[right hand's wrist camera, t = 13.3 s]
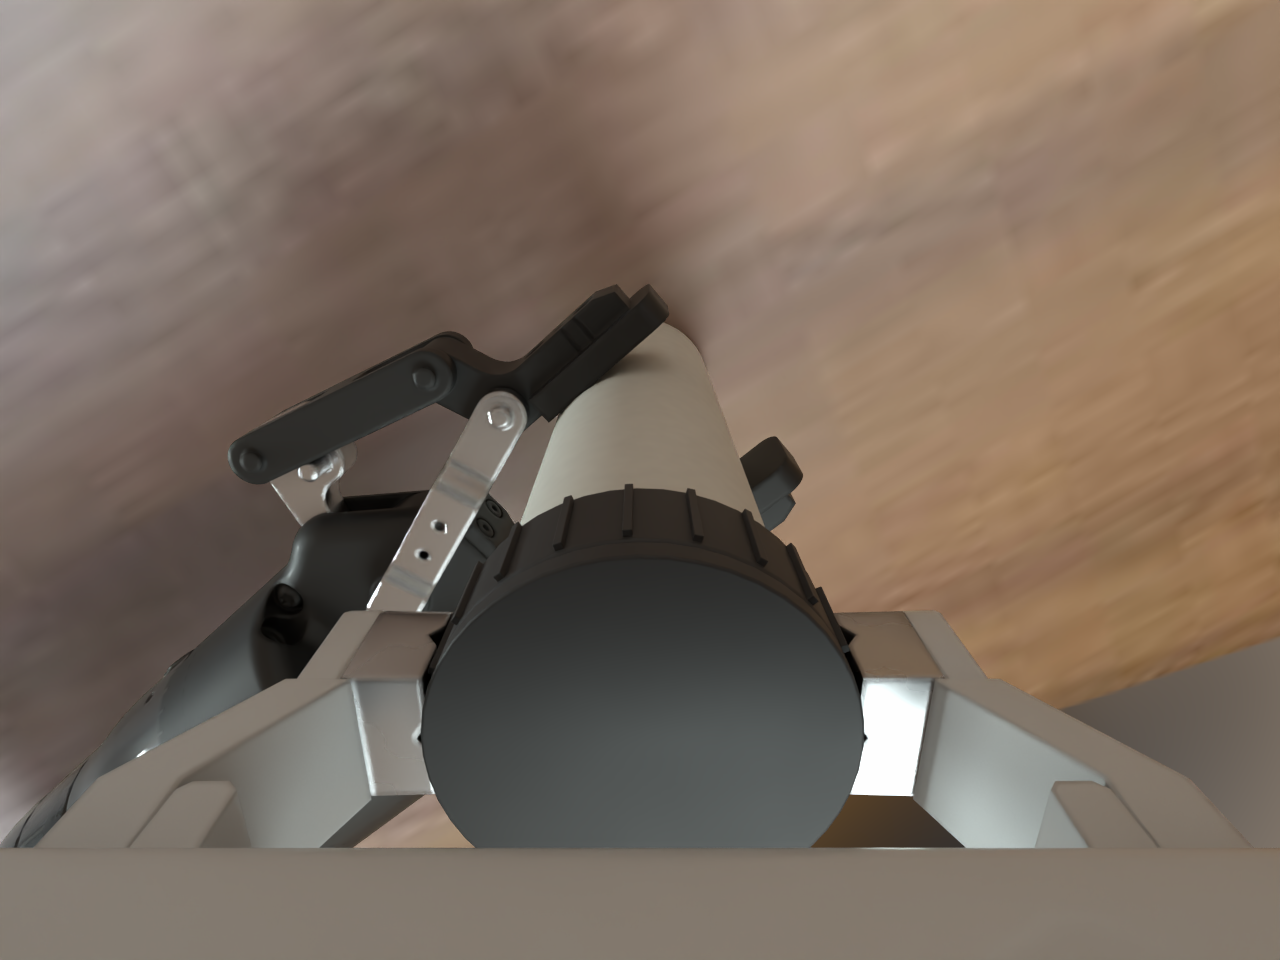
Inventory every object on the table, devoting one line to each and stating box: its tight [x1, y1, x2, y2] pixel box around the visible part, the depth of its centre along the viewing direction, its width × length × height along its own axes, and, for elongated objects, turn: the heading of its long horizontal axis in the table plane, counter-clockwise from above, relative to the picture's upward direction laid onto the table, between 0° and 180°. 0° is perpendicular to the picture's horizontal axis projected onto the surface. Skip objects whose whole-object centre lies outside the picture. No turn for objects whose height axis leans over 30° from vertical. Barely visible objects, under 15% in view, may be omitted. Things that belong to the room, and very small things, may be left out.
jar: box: [520, 323, 765, 527], centre depth 17 cm, size 4×4×16 cm
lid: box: [421, 484, 864, 848], centre depth 9 cm, size 5×5×2 cm
